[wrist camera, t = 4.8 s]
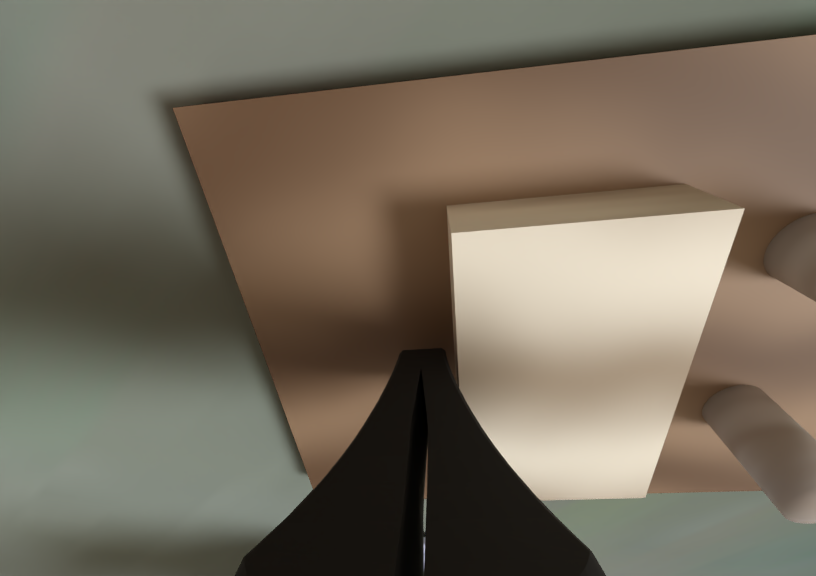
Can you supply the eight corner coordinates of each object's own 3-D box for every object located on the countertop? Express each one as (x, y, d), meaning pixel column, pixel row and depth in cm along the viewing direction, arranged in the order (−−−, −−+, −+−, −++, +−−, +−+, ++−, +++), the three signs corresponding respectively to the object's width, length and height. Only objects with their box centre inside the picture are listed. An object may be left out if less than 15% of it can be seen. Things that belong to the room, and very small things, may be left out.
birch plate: (618, 446, 14) (644, 497, 13) (460, 452, 15) (465, 502, 13) (685, 184, 9) (745, 207, 8) (446, 205, 10) (451, 233, 8)
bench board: (774, 463, 16) (888, 589, 12) (323, 476, 18) (294, 592, 14) (1042, 8, 8) (1603, -53, 4) (198, 104, 10) (49, 123, 6)
